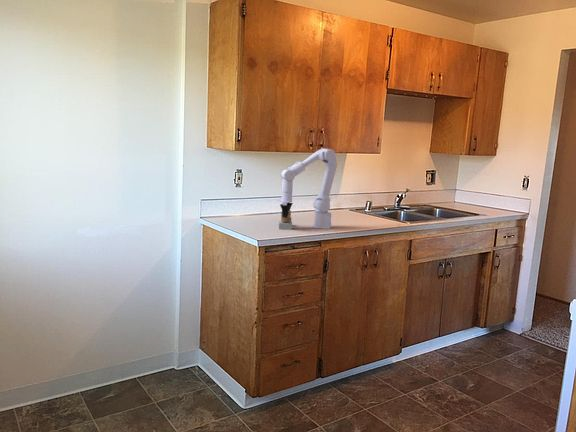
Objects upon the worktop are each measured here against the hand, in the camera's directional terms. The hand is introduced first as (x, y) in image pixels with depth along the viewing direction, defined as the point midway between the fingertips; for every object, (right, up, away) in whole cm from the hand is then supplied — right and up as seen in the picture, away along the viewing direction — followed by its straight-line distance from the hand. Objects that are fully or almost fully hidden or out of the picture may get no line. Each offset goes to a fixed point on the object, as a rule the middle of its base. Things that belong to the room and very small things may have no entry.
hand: (285, 216), depth 267 cm
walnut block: (0, -2, 0) cm, 2 cm away
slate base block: (0, -7, +1) cm, 7 cm away
